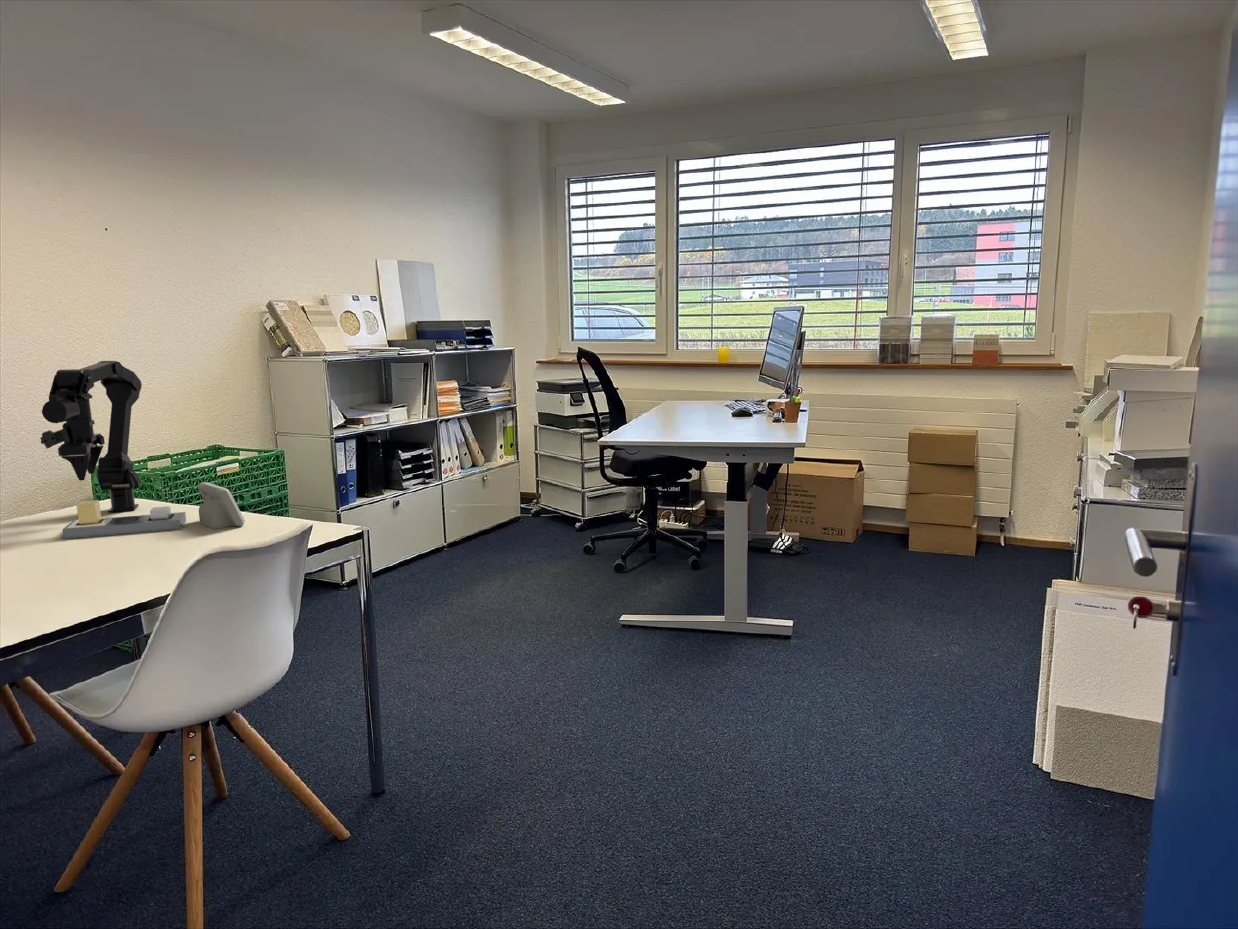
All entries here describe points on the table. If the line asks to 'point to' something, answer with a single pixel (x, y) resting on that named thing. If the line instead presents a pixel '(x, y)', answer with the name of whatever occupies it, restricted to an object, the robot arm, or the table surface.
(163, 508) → the steel peg
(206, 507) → the digital clock
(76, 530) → the rail
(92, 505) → the brass peg
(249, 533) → the table surface
